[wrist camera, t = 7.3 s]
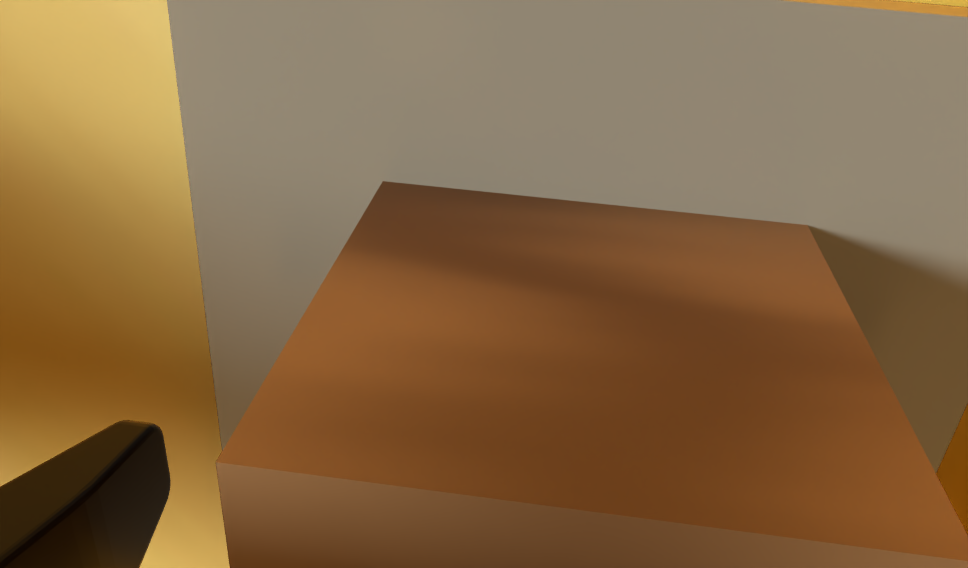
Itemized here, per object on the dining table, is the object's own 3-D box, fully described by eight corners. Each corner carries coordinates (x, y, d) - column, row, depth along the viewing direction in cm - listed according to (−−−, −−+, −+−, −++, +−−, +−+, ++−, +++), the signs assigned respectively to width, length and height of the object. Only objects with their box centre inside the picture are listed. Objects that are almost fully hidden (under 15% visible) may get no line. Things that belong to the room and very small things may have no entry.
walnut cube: (383, 490, 12) (268, 848, 8) (382, 180, 10) (214, 463, 6) (719, 533, 12) (788, 936, 8) (807, 225, 10) (981, 562, 5)
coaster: (251, 554, 14) (238, 581, 14) (184, -63, 9) (161, -56, 9) (837, 638, 14) (846, 671, 13) (1102, 19, 9) (1135, 31, 8)
